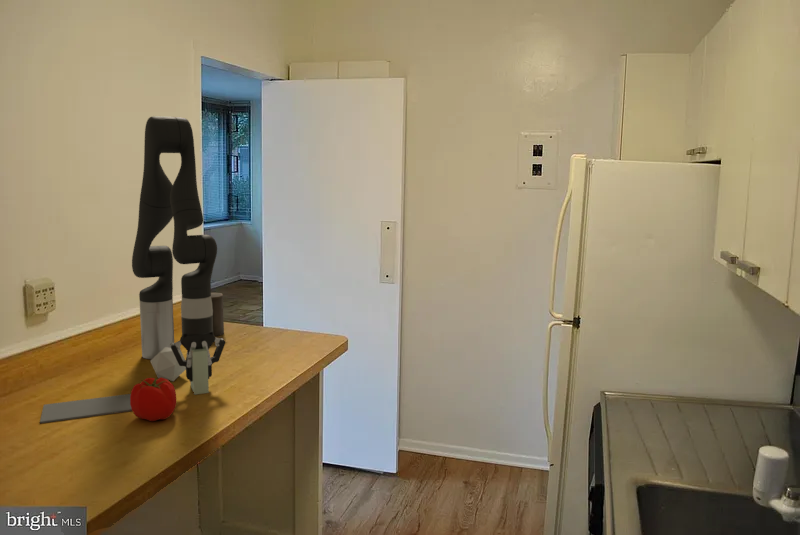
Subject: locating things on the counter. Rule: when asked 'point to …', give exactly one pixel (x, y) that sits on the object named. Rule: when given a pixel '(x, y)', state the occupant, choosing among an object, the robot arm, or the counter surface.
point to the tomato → (153, 399)
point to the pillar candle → (217, 314)
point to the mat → (85, 408)
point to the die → (167, 364)
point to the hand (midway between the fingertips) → (199, 379)
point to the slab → (200, 371)
